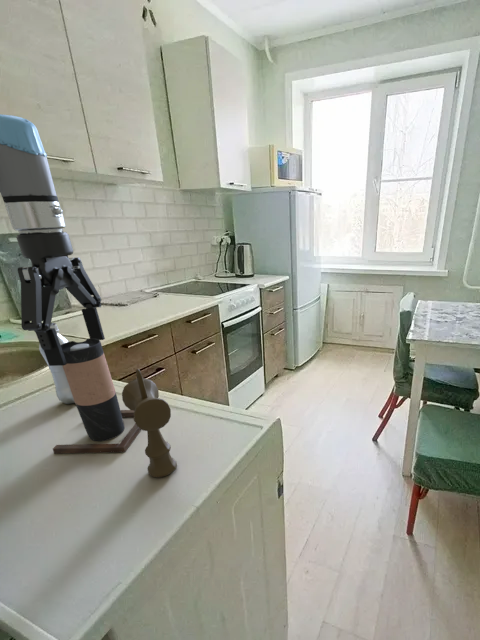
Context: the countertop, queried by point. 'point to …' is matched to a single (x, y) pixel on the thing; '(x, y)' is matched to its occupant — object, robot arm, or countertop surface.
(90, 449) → the frame
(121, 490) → the countertop surface
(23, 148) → the robot arm
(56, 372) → the plastic bottle
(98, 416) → the travel mug
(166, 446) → the kendama
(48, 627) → the countertop surface
